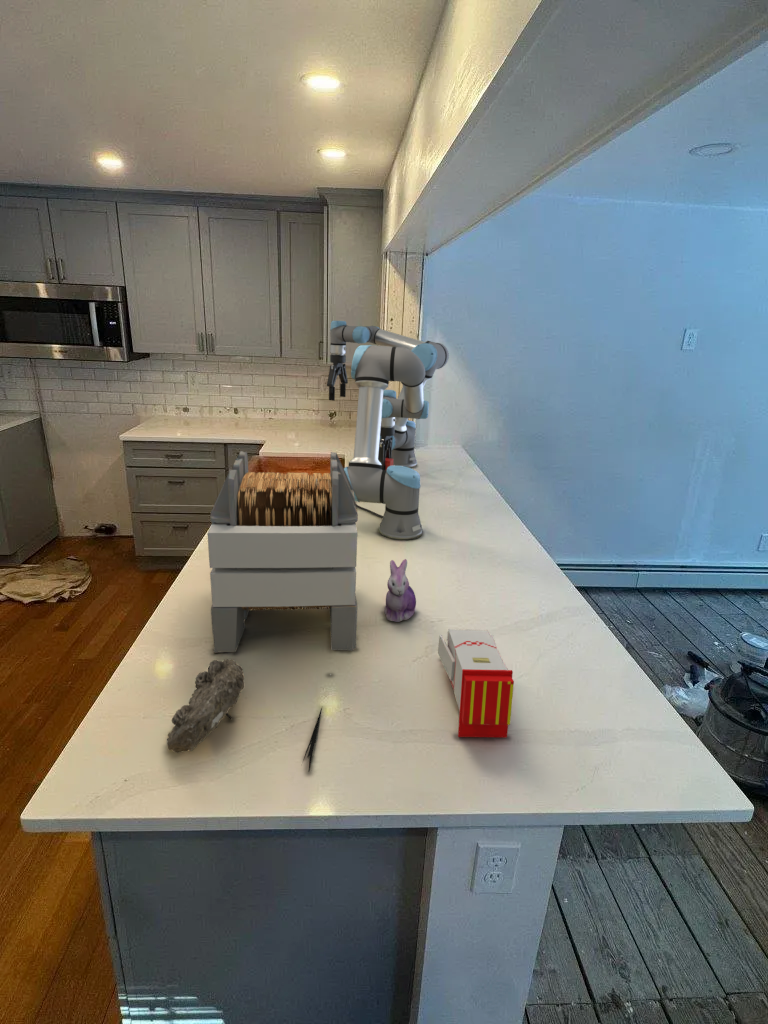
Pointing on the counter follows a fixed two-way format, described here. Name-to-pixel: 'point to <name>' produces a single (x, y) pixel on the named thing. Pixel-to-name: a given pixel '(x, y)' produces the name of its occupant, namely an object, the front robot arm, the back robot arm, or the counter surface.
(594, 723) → the counter surface
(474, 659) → the toy
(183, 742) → the fossil
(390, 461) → the brick
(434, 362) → the back robot arm
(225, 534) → the grey record crate stand
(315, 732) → the feather
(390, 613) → the figurine
